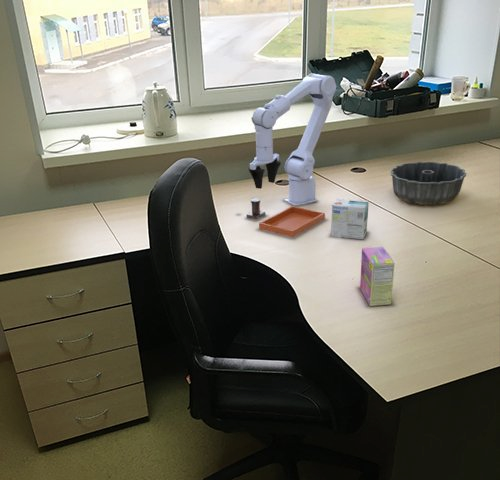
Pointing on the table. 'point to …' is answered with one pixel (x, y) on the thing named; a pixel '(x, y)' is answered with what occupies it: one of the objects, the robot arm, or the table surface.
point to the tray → (292, 221)
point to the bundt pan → (427, 182)
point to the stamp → (255, 210)
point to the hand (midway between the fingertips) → (265, 185)
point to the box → (376, 276)
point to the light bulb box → (349, 218)
